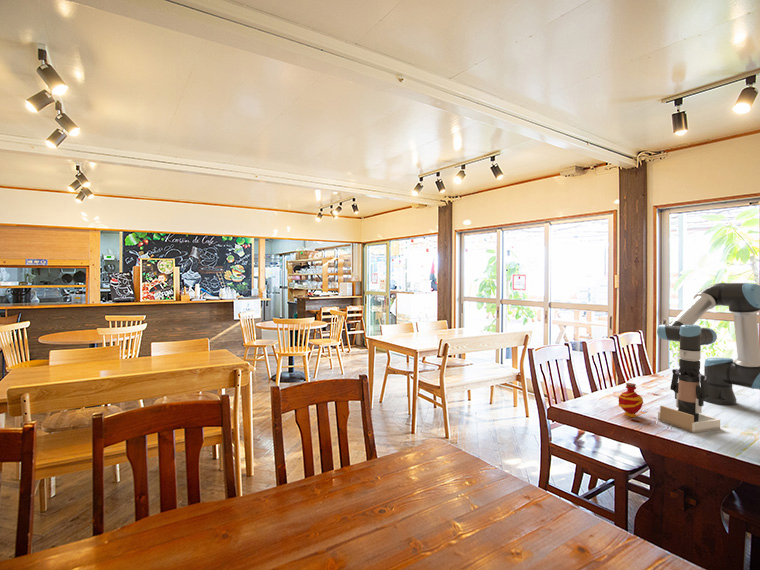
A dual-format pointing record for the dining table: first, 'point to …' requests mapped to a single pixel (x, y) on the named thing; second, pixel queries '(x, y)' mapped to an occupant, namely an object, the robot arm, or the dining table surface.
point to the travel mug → (688, 395)
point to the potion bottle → (630, 401)
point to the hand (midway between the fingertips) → (688, 409)
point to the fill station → (687, 420)
